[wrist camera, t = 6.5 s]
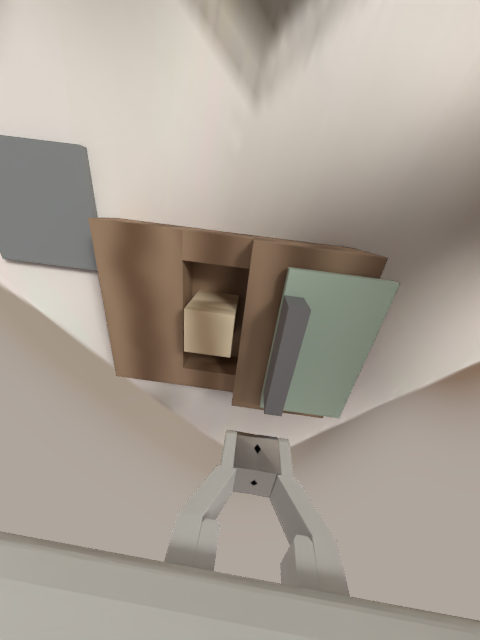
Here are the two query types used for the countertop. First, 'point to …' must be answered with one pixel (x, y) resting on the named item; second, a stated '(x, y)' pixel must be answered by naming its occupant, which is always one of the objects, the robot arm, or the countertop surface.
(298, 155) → the countertop surface
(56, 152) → the rubber pad
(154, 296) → the puzzle board
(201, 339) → the maple block
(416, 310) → the countertop surface
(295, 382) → the sliding lid
